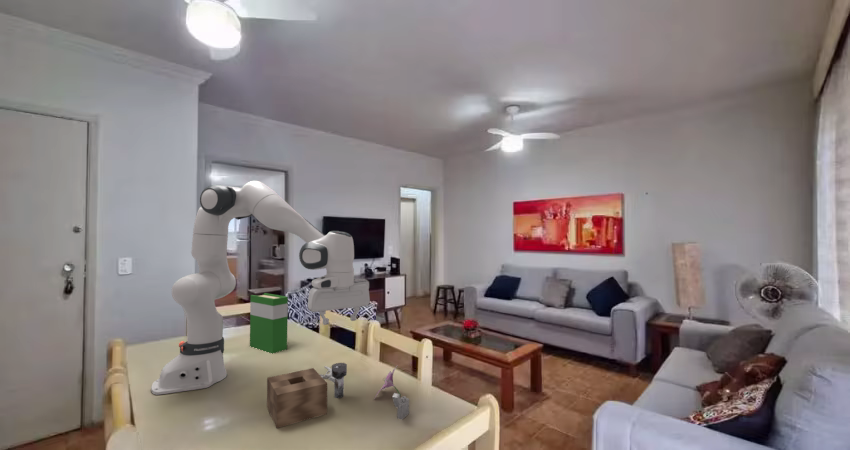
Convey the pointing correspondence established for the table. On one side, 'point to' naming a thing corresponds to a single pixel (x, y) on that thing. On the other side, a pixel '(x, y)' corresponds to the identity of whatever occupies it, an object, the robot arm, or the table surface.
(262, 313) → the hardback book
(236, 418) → the table surface
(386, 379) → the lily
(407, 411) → the lighter
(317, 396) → the block
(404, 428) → the table surface
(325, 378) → the grey branched figurine
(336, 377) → the pin
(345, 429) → the table surface
